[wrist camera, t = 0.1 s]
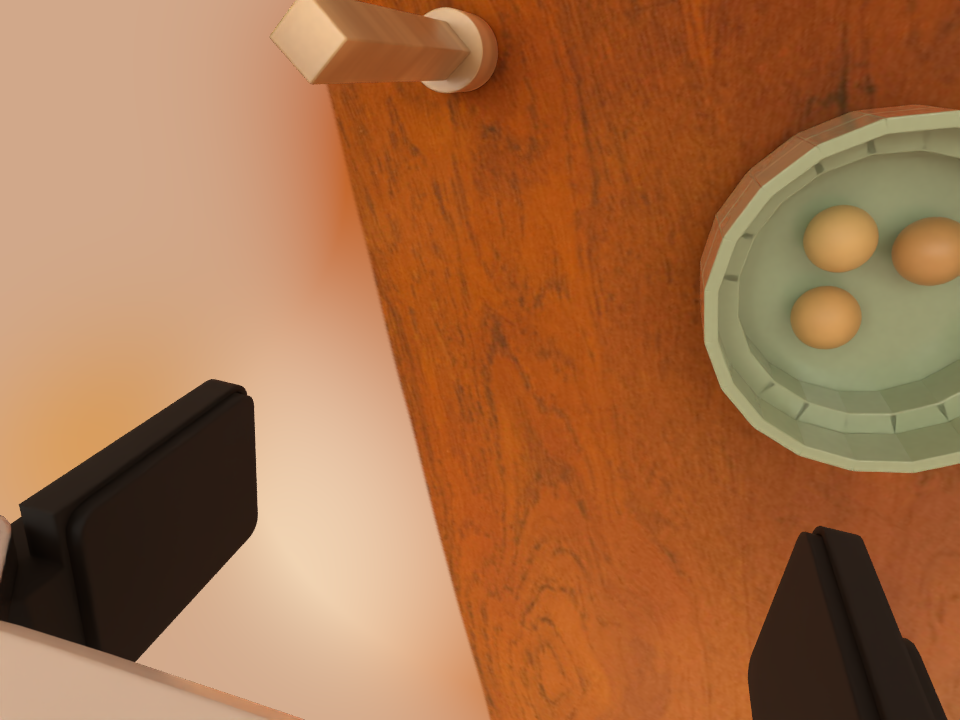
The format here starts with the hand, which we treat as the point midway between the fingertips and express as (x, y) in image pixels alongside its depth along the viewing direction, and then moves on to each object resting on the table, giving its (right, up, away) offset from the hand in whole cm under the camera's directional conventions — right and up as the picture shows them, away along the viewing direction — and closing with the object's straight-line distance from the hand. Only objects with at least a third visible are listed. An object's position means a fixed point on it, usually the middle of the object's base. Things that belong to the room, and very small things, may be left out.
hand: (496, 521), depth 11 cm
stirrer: (-1, +18, +22) cm, 29 cm away
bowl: (+18, +7, +21) cm, 29 cm away
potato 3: (+20, +7, +18) cm, 28 cm away
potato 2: (+16, +5, +20) cm, 26 cm away
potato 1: (+16, +8, +19) cm, 26 cm away
